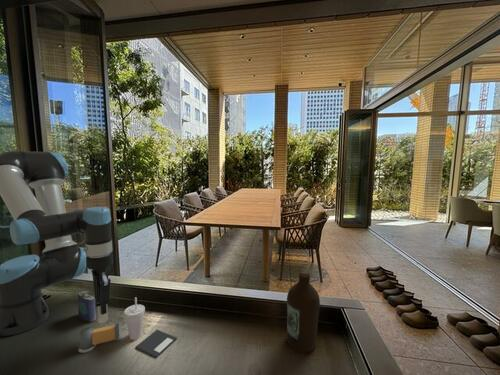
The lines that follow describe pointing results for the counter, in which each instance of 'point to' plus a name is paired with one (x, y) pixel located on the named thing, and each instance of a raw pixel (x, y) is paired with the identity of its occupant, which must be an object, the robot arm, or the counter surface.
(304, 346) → the olive oil
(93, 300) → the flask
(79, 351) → the base
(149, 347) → the pad
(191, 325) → the counter surface
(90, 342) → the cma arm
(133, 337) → the smoothie
